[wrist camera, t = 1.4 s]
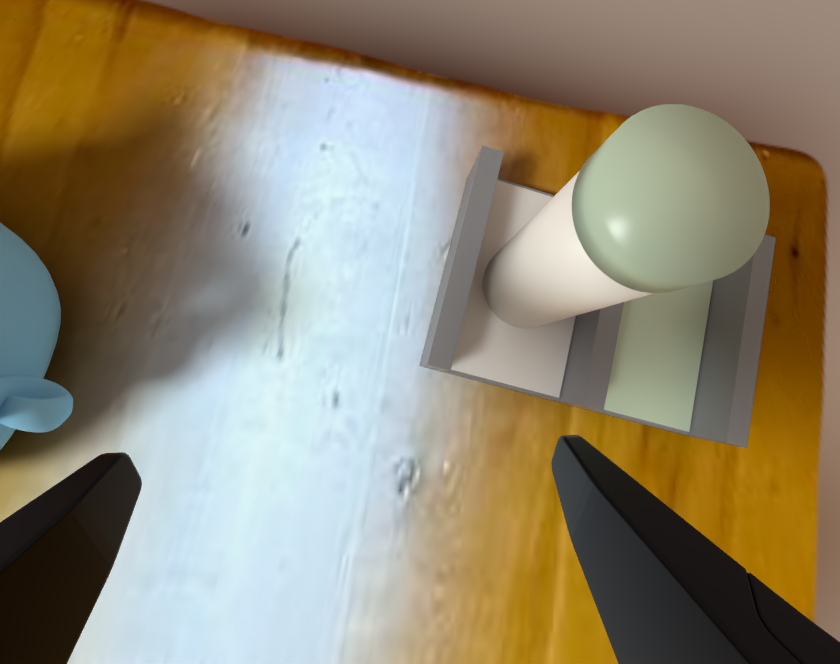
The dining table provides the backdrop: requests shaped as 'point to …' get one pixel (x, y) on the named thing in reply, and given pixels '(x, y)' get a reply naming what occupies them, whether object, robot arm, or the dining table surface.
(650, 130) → the white capped canister
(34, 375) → the decorative pot
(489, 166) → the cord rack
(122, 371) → the dining table surface
